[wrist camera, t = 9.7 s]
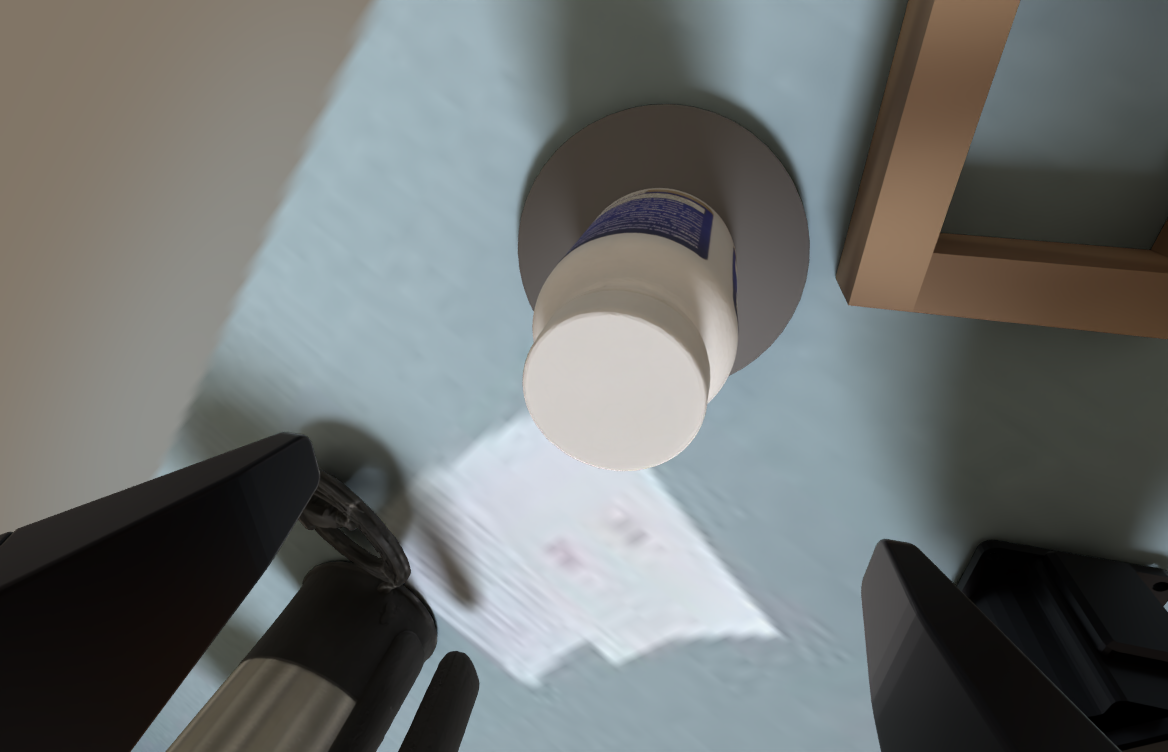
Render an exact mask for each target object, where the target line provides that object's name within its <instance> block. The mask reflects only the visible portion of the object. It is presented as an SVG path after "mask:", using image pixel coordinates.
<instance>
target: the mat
mask: <svg viewBox="0 0 1168 752" xmlns="http://www.w3.org/2000/svg"><path fill="white" fill-rule="evenodd" d="M650 188H668V189H674V190H679V191H682V192H685V193H688V194H691V195H693V196H695V197H697V198H699V199H700V200H702V201H703V202H705V203H706V204H707V205H709V206H710V207H711V208H712V209H713V210H714V211H715V212H716V213H717V214H718V215H719V216H720V218H721V219H722V220H723V222H724V223H725V225H726V226H727V228H728V231H729V233H730V235H731V237H732V240H733V243H734V247H735V252H736V259H737V306H738V327H739V333H738V344H737V352H736V357H735V361H734V364H733V367H732V369H731V372H730V374H729V376H730V375H732V374H733V373H735V372H737V371H739V370H741V369H743V368H744V367H745V366H747V365H748V364H750V363H751V362H752V361H754V360H755V359H757V358H758V357H759V356H760V355H761V354H762V353H763V352H764V351H766V350H767V349H768V348H769V347H770V346H771V345H772V344H773V342H774V341H775V340H776V339H777V338H778V336H779V335H780V334H781V333H782V332H783V330H784V328H785V327H786V325H787V324H788V322H789V321H790V319H791V318H792V316H793V314H794V312H795V310H796V307H797V305H798V303H799V301H800V299H801V295H802V292H803V289H804V286H805V283H806V278H807V272H808V266H809V250H810V240H809V232H808V224H807V219H806V215H805V212H804V208H803V204H802V201H801V199H800V196H799V194H798V192H797V190H796V187H795V185H794V183H793V181H792V179H791V177H790V176H789V174H788V173H787V171H786V169H785V168H784V166H783V165H782V163H781V161H780V160H779V159H778V158H777V157H776V156H775V154H774V153H773V152H772V151H771V150H770V149H769V148H768V146H767V145H766V144H764V143H763V142H762V141H761V140H760V139H759V138H757V137H756V136H755V135H754V134H753V133H752V132H750V131H749V130H747V129H745V128H744V127H742V126H741V125H739V124H737V123H736V122H734V121H733V120H730V119H728V118H726V117H723V116H721V115H719V114H717V113H714V112H711V111H708V110H704V109H700V108H696V107H693V106H684V105H676V104H656V105H646V106H640V107H634V108H629V109H626V110H623V111H620V112H617V113H614V114H611V115H608V116H606V117H604V118H602V119H600V120H598V121H596V122H594V123H592V124H590V125H588V126H587V127H585V128H584V129H582V130H581V131H579V132H578V133H576V134H575V135H573V136H572V137H571V138H570V139H569V140H567V141H566V142H565V143H564V144H563V145H562V146H561V147H560V148H559V149H558V150H557V151H556V152H555V153H554V154H553V155H552V157H551V158H550V159H549V160H548V161H547V163H546V164H545V165H544V167H543V168H542V170H541V171H540V173H539V175H538V176H537V178H536V180H535V181H534V183H533V185H532V188H531V190H530V192H529V194H528V197H527V199H526V202H525V206H524V209H523V212H522V216H521V222H520V228H519V234H518V258H519V268H520V273H521V278H522V282H523V286H524V289H525V292H526V295H527V298H528V301H529V303H530V305H531V307H532V309H533V311H534V309H535V305H536V302H537V299H538V296H539V293H540V291H541V289H542V287H543V285H544V283H545V281H546V280H547V278H548V276H549V275H550V274H551V272H552V271H553V269H554V268H555V267H556V265H557V264H558V263H559V261H560V260H561V259H562V258H563V257H564V256H565V255H566V254H567V252H568V251H569V250H570V249H571V248H572V247H573V245H574V244H575V243H576V242H577V241H578V240H579V238H580V237H581V236H582V235H583V234H584V233H585V231H586V230H587V229H588V228H589V227H590V225H591V224H592V223H593V222H594V221H595V219H596V218H597V217H598V216H599V215H600V214H601V213H602V212H603V211H604V210H605V209H606V208H607V207H608V206H610V205H611V204H612V203H613V202H615V201H616V200H618V199H620V198H622V197H624V196H626V195H628V194H630V193H633V192H636V191H640V190H644V189H650Z"/></svg>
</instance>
